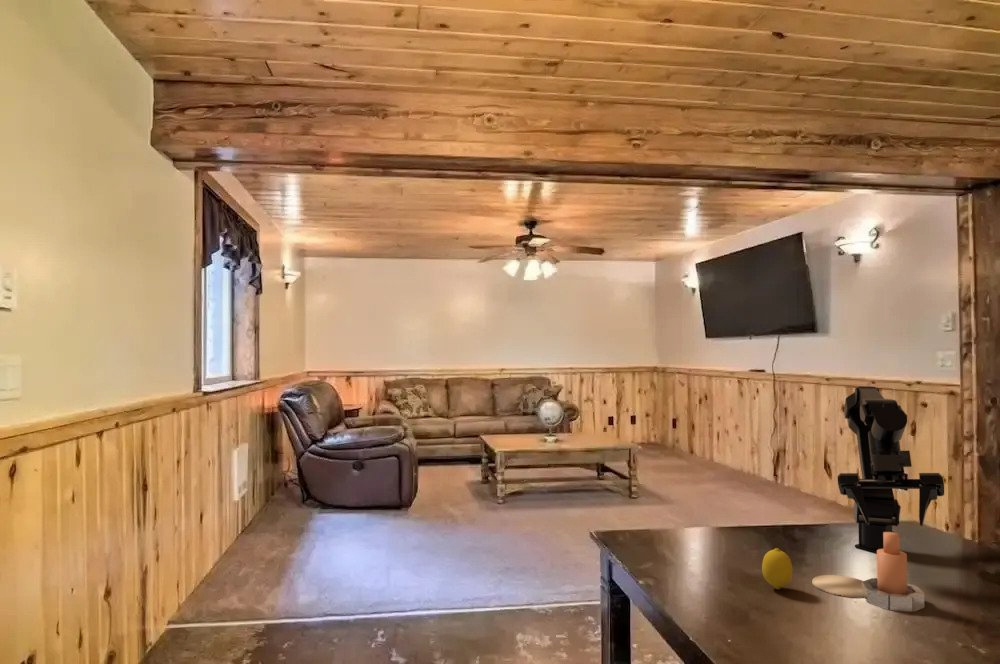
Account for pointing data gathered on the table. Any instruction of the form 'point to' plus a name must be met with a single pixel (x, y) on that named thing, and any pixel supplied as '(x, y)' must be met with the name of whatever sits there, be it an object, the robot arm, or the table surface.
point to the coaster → (839, 585)
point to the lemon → (777, 568)
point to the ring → (893, 597)
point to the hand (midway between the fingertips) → (894, 524)
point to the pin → (892, 566)
